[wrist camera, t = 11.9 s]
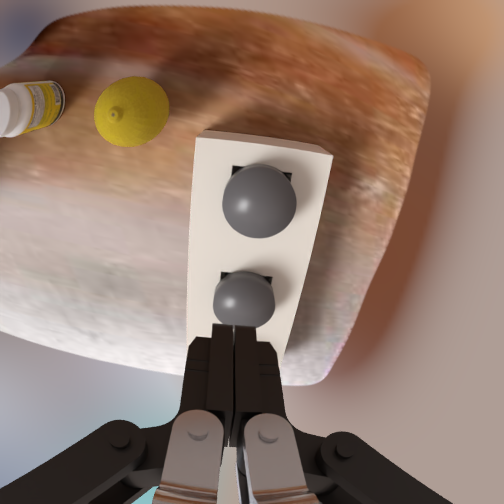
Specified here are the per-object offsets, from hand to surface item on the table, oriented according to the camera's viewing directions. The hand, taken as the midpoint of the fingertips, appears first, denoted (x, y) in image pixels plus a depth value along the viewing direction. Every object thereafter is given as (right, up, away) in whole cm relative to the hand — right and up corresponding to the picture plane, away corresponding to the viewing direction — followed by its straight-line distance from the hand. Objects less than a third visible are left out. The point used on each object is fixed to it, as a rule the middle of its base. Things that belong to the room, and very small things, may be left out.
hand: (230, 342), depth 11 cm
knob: (+1, +9, +16) cm, 18 cm away
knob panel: (0, +2, +21) cm, 21 cm away
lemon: (-8, +16, +13) cm, 22 cm away
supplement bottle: (-19, +18, +12) cm, 29 cm away
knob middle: (0, +1, +20) cm, 20 cm away
